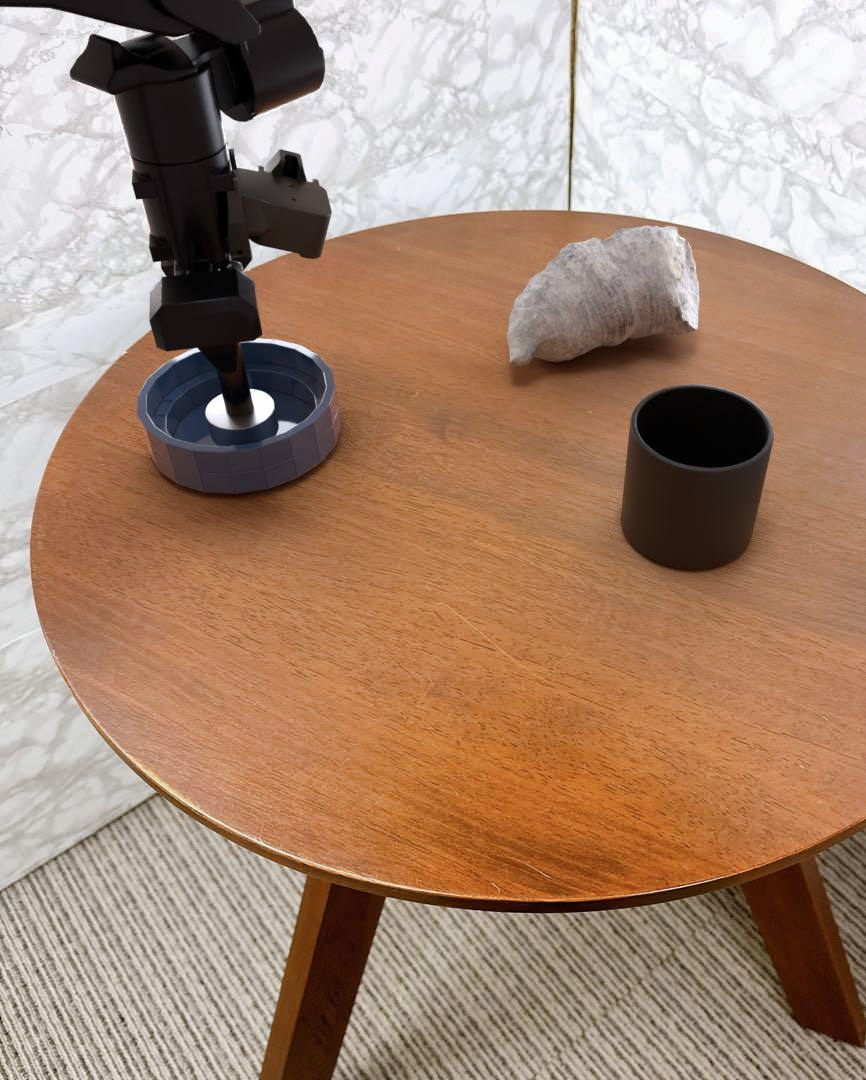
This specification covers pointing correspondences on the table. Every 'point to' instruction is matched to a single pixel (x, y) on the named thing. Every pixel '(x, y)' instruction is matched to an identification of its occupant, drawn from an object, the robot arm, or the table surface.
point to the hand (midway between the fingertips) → (228, 363)
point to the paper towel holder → (240, 410)
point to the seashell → (606, 295)
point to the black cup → (694, 475)
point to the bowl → (198, 463)
